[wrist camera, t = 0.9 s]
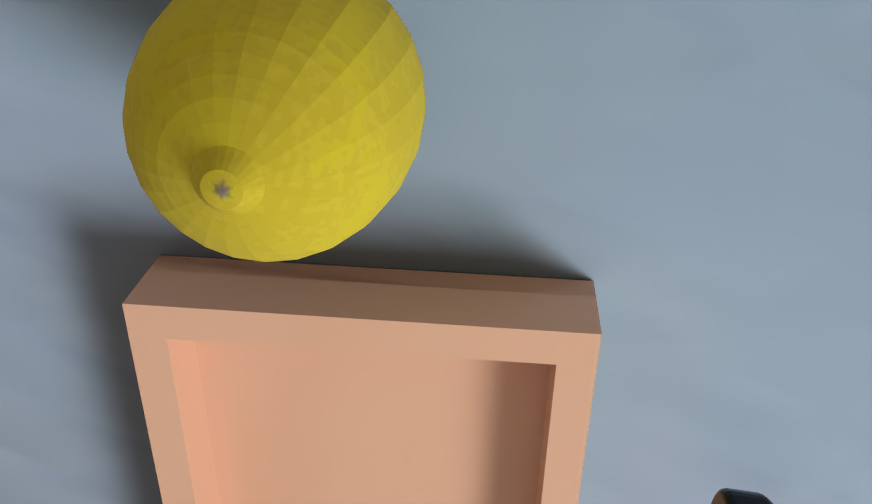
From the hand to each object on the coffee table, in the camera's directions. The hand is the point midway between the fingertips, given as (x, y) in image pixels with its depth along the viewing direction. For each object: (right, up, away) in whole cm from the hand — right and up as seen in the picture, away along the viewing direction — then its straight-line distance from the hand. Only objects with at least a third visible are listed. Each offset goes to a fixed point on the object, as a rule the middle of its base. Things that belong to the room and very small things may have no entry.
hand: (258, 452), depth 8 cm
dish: (0, -4, +17) cm, 18 cm away
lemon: (-1, +7, +12) cm, 14 cm away
